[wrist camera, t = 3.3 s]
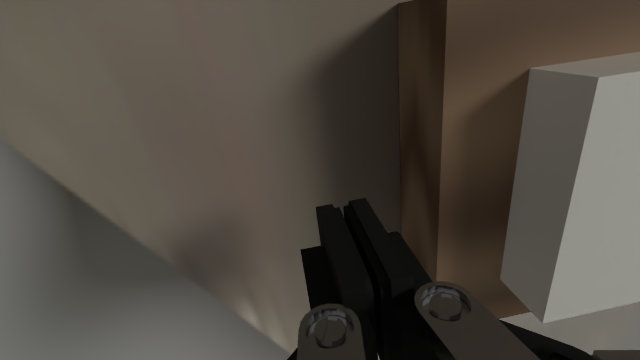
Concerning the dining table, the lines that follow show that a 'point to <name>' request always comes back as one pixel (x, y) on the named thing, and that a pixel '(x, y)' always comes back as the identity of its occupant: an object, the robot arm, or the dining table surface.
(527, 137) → the tile
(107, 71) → the dining table surface
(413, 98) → the panel
